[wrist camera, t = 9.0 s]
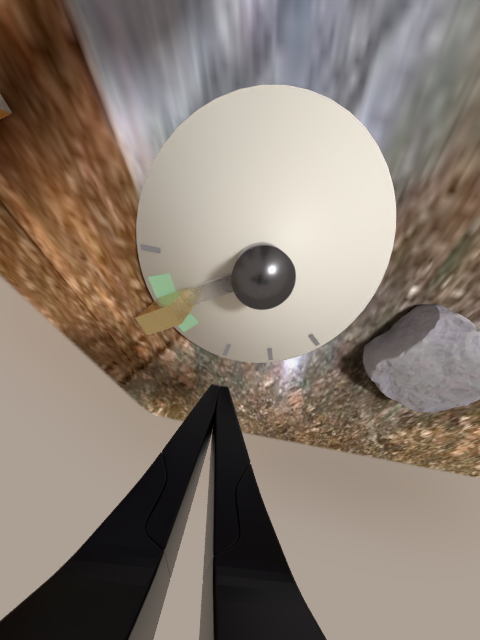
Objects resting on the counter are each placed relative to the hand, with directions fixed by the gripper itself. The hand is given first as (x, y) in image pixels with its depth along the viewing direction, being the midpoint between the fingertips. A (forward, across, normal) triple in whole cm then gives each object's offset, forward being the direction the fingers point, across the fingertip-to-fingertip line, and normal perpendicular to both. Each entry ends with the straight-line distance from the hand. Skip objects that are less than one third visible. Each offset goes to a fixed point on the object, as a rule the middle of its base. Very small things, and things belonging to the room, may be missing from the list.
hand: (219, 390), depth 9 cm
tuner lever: (+9, +2, -2) cm, 9 cm away
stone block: (+11, -21, +3) cm, 24 cm away
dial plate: (+11, -2, -4) cm, 11 cm away
